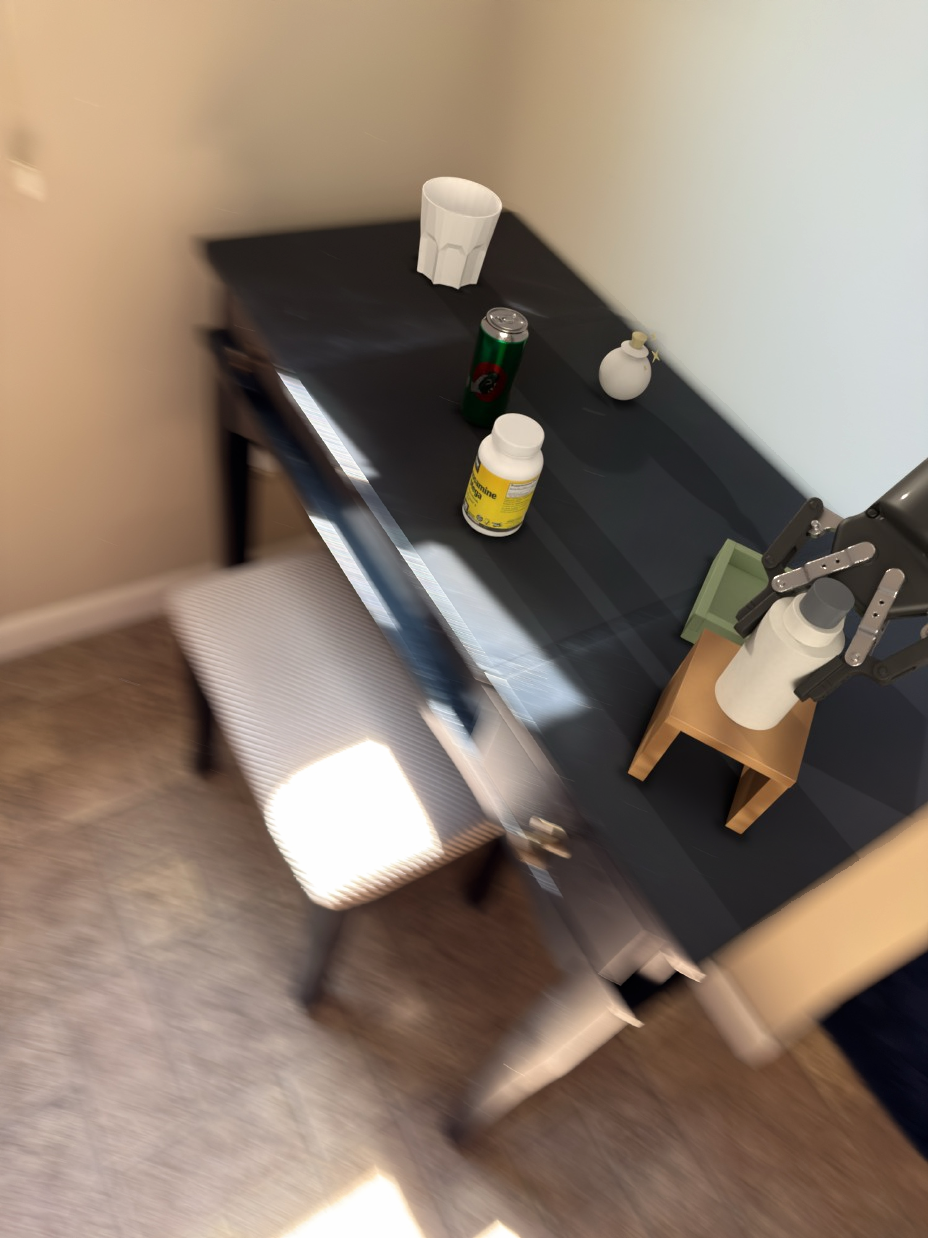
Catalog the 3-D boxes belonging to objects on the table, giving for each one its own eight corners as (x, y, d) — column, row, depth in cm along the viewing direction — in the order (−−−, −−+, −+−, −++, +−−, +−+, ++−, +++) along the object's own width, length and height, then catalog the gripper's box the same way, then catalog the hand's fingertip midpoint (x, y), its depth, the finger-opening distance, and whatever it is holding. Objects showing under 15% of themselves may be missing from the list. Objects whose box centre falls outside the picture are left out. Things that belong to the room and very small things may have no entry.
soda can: (510, 427, 96) (539, 332, 87) (468, 431, 94) (494, 335, 85) (493, 398, 99) (519, 304, 90) (452, 402, 97) (475, 305, 88)
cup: (444, 299, 110) (460, 223, 102) (394, 259, 114) (406, 183, 106) (499, 282, 115) (518, 209, 108) (450, 244, 119) (464, 171, 112)
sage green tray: (832, 620, 87) (850, 597, 84) (809, 703, 79) (829, 681, 77) (713, 561, 89) (727, 537, 86) (680, 637, 81) (695, 613, 78)
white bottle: (788, 692, 67) (879, 587, 58) (773, 742, 64) (867, 639, 54) (724, 659, 68) (803, 550, 58) (706, 707, 64) (787, 600, 55)
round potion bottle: (624, 377, 107) (654, 304, 100) (655, 415, 103) (688, 342, 96) (583, 380, 105) (610, 306, 97) (612, 420, 101) (643, 346, 93)
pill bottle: (451, 500, 86) (474, 410, 78) (504, 491, 89) (533, 403, 81) (477, 544, 83) (504, 456, 75) (532, 533, 86) (564, 447, 78)
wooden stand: (767, 745, 75) (821, 686, 68) (740, 836, 69) (796, 781, 62) (662, 690, 77) (705, 627, 70) (626, 775, 70) (669, 714, 63)
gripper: (886, 407, 57) (688, 579, 61) (1071, 555, 51) (839, 739, 54) (887, 451, 64) (709, 604, 67) (1051, 587, 57) (845, 750, 61)
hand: (768, 664), depth 61 cm, fingers closed on white bottle, 5 cm apart
